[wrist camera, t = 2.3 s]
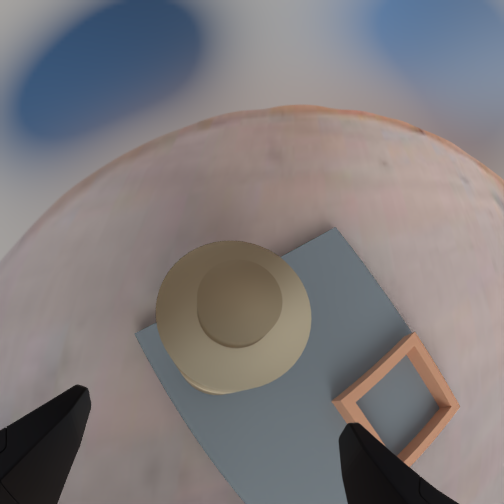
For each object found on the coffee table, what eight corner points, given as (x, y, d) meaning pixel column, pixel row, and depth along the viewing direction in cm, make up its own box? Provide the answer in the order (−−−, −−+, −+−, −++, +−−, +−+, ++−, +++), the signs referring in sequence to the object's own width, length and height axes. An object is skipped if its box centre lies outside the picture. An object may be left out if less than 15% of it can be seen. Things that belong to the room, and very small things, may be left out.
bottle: (268, 370, 19) (355, 325, 9) (203, 408, 17) (210, 423, 7) (228, 308, 21) (264, 200, 10) (164, 343, 19) (122, 264, 8)
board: (450, 409, 20) (469, 406, 18) (290, 550, 14) (301, 564, 11) (331, 232, 27) (342, 217, 24) (137, 336, 20) (129, 328, 18)
